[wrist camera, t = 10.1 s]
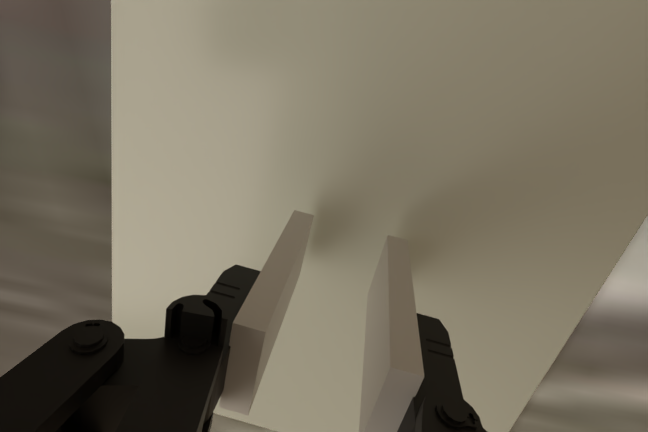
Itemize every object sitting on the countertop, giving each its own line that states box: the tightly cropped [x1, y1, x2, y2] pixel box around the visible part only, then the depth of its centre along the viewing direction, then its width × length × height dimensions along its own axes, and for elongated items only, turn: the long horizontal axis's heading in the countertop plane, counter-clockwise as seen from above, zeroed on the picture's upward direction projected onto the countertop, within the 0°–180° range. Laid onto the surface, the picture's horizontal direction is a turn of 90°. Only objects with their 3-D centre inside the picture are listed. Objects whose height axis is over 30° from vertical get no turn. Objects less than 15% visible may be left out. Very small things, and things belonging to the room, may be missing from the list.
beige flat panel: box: [111, 0, 648, 432], centre depth 16 cm, size 24×20×1 cm
